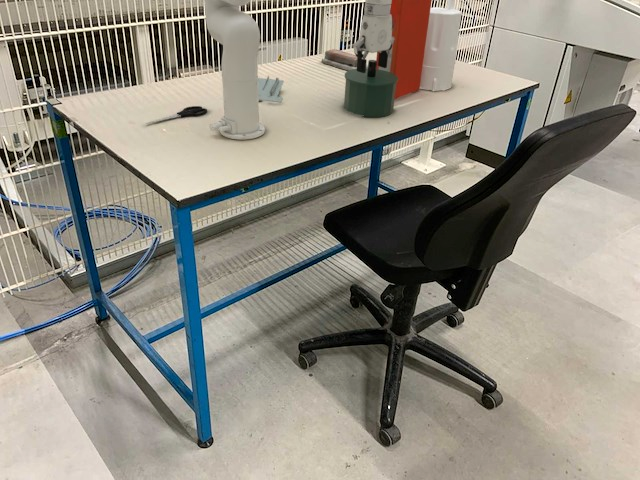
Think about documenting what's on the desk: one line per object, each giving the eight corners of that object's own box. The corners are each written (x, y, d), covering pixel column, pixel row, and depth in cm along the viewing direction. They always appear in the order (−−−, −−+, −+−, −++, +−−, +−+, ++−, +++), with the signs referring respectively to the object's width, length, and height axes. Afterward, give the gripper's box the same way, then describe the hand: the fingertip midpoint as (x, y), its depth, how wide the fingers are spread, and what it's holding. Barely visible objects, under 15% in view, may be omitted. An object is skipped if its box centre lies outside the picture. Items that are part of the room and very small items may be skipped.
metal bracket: (247, 70, 176) (290, 75, 174) (249, 85, 181) (291, 90, 178) (234, 95, 167) (279, 99, 165) (236, 110, 172) (280, 115, 169)
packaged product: (320, 50, 207) (337, 46, 214) (320, 62, 210) (337, 59, 216) (354, 60, 197) (371, 56, 203) (353, 73, 200) (370, 68, 206)
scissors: (153, 129, 146) (210, 112, 158) (153, 126, 145) (210, 110, 158) (140, 122, 149) (197, 107, 162) (139, 119, 149) (197, 104, 161)
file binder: (372, 95, 178) (382, -6, 160) (400, 85, 189) (412, -11, 171) (391, 101, 174) (404, -3, 156) (419, 90, 185) (433, -8, 167)
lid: (372, 91, 152) (374, 71, 149) (333, 77, 162) (334, 58, 158) (408, 81, 162) (411, 62, 158) (369, 69, 171) (370, 51, 168)
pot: (369, 121, 158) (372, 89, 152) (333, 107, 167) (335, 76, 161) (402, 110, 167) (406, 79, 161) (366, 98, 176) (369, 68, 170)
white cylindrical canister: (437, 93, 183) (455, -11, 165) (402, 83, 191) (414, -17, 172) (458, 84, 193) (477, -15, 174) (423, 75, 201) (438, -20, 182)
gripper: (367, 14, 143) (361, 77, 153) (406, 9, 153) (399, 68, 163) (347, 10, 147) (343, 71, 157) (387, 5, 158) (381, 62, 167)
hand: (371, 69), depth 160 cm, fingers open, 9 cm apart
